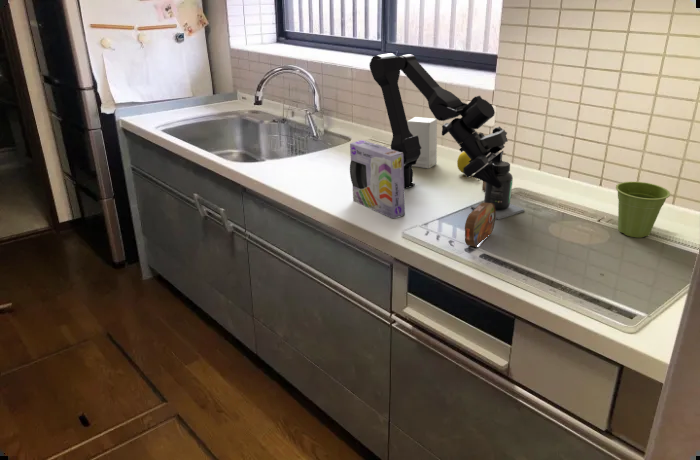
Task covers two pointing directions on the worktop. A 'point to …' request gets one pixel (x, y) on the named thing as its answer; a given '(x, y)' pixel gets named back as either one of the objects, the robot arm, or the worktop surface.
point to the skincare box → (425, 140)
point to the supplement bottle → (503, 194)
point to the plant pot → (639, 207)
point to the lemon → (463, 161)
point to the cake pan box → (378, 178)
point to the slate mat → (505, 211)
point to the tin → (479, 223)
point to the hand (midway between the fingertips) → (504, 183)
